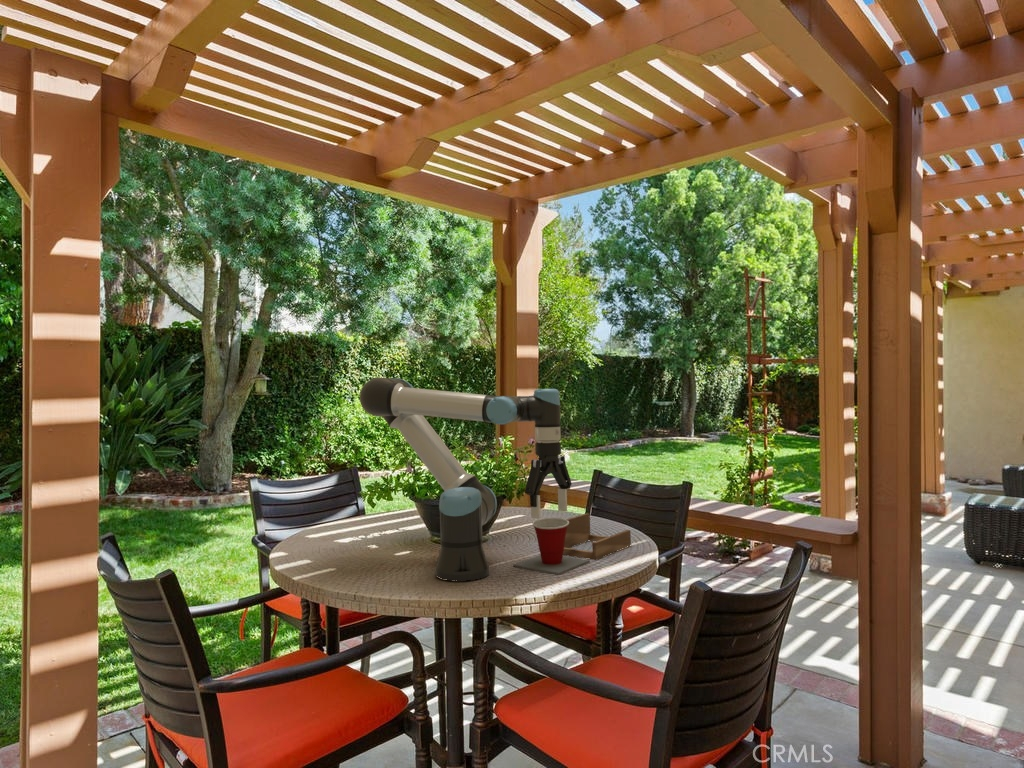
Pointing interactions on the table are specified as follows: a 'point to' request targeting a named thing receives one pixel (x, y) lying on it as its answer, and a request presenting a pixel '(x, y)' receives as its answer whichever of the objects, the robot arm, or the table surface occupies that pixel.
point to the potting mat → (557, 569)
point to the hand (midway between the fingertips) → (549, 514)
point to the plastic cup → (551, 538)
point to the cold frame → (592, 539)
